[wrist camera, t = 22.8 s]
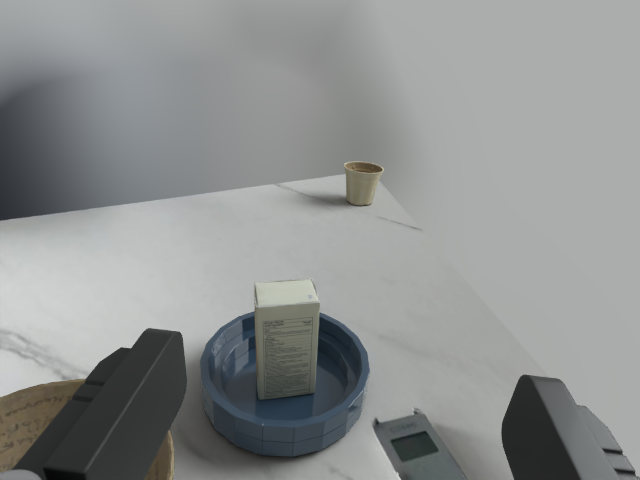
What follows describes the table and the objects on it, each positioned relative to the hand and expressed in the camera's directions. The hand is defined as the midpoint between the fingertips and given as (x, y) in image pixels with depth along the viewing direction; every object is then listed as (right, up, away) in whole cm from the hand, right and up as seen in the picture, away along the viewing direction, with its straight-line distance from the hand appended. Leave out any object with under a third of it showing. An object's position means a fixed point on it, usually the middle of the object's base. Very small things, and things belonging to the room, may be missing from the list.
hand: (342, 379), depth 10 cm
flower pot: (+9, +13, +90) cm, 91 cm away
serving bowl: (-4, -13, +36) cm, 38 cm away
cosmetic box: (-5, -13, +36) cm, 38 cm away
